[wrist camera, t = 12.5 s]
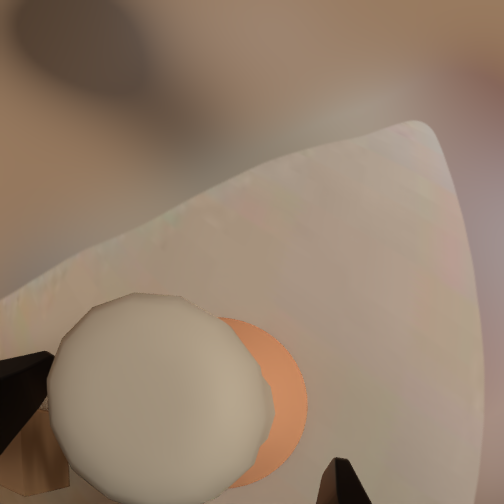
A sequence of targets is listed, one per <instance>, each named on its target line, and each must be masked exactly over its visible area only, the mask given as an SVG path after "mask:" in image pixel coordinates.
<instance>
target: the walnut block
mask: <svg viewBox="0 0 504 504" xmlns="http://www.w3.org/2000/svg"><path fill="white" fill-rule="evenodd" d="M0 485H1V486H3V487H5V488H7V489H9V490H11V491H13V492H16V493H18V494H20V495H22V496H25V497H26V496H31V495H35V494H40V493H44V492H49V491H53V490H57V489H61V488H65V487H68V486H70V481H69V466H68V461H67V459H66V457H65V455H64V453H63V451H62V450H61V448H60V446H59V444H58V441H57V439H56V437H55V435H54V433H53V431H52V429H51V427H50V421H49V411H46V410H41V409H38V410H37V411H36V412H35V414H34V415H33V416H32V417H31V419H30V420H29V421H28V422H27V423H26V425H25V426H24V427H23V428H22V429H21V431H20V432H19V433H18V434H17V436H16V437H15V438H14V439H13V441H12V442H11V443H10V444H9V446H8V447H7V448H6V449H5V451H4V452H3V453H2V454H1V456H0Z"/></svg>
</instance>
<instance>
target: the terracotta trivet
mask: <svg viewBox="0 0 504 504" xmlns="http://www.w3.org/2000/svg"><path fill="white" fill-rule="evenodd" d="M219 319H220V320H222V321H224V322H225V323H227V324H228V325H229V326H231V328H232V329H233V330H234V332H235V333H236V334H237V336H238V337H239V339H240V340H241V341H242V343H243V344H244V345H245V347H246V348H247V349H248V351H249V352H250V353H251V355H252V356H253V357H254V359H255V360H256V361H257V363H258V364H259V365H260V367H261V372H262V376H263V377H264V379H265V380H266V381H267V383H268V384H269V385H270V387H271V392H272V397H273V403H274V408H275V416H274V420H273V423H272V426H271V429H270V433H269V436H268V439H267V440H266V441H265V442H264V443H263V444H262V445H261V446H260V448H259V451H258V454H257V457H256V461H255V464H254V465H253V466H252V467H251V468H250V469H249V470H247V471H246V472H245V473H244V474H243V475H242V476H241V477H240V478H239V479H238V480H237V481H235V482H234V483H233V484H232V485H231V486H230V487H229V488H235V487H240V486H245V485H248V484H250V483H253V482H256V481H258V480H260V479H262V478H264V477H266V476H268V475H269V474H270V473H272V472H273V471H275V470H276V469H277V468H278V467H279V466H281V465H282V464H283V463H284V462H285V461H286V460H287V458H288V457H289V456H290V455H291V453H292V452H293V451H294V449H295V447H296V446H297V444H298V442H299V440H300V438H301V435H302V433H303V430H304V426H305V422H306V417H307V393H306V388H305V383H304V380H303V377H302V374H301V372H300V370H299V368H298V366H297V364H296V362H295V361H294V359H293V358H292V356H291V355H290V353H289V352H288V351H287V350H286V349H285V348H284V346H283V345H282V344H281V343H279V342H278V341H277V340H276V339H275V338H274V337H272V336H271V335H269V334H268V333H267V332H265V331H263V330H262V329H260V328H258V327H256V326H254V325H251V324H249V323H246V322H243V321H239V320H235V319H229V318H219Z"/></svg>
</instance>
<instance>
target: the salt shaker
mask: <svg viewBox="0 0 504 504" xmlns="http://www.w3.org/2000/svg"><path fill="white" fill-rule="evenodd" d="M47 396H48V410H49V421H50V427H51V429H52V431H53V433H54V435H55V437H56V439H57V441H58V444H59V446H60V448H61V450H62V451H63V453H64V455H65V457H66V459H67V461H68V463H69V465H70V467H71V468H72V469H73V470H74V471H75V472H76V473H77V474H78V475H80V476H81V477H82V478H83V479H84V480H86V481H87V482H88V483H89V484H91V485H92V486H93V487H94V488H96V489H97V490H98V491H99V492H101V493H102V494H103V495H105V496H106V497H107V498H109V499H110V500H112V501H116V502H119V503H122V504H202V503H205V502H209V501H211V500H213V499H215V498H217V497H218V496H220V495H221V494H222V493H223V492H224V491H225V490H226V489H228V488H229V487H230V486H231V485H232V484H233V483H234V482H235V481H237V480H238V479H239V478H240V477H241V476H242V475H243V474H244V473H245V472H246V471H247V470H249V469H250V468H251V467H252V466H253V465H254V464H255V461H256V457H257V454H258V451H259V448H260V446H261V445H262V444H263V443H264V442H265V441H266V440H267V439H268V436H269V433H270V429H271V426H272V423H273V420H274V416H275V408H274V403H273V397H272V392H271V387H270V385H269V384H268V383H267V381H266V380H265V379H264V377H263V376H262V372H261V367H260V365H259V364H258V363H257V361H256V360H255V359H254V357H253V356H252V355H251V353H250V352H249V351H248V349H247V348H246V347H245V345H244V344H243V343H242V341H241V340H240V339H239V337H238V336H237V334H236V333H235V332H234V330H233V329H232V328H231V326H229V325H228V324H227V323H225V322H224V321H222V320H220V319H219V318H217V317H215V316H213V315H212V314H210V313H208V312H207V311H205V310H203V309H201V308H200V307H198V306H196V305H195V304H193V303H191V302H190V301H188V300H186V299H185V298H183V297H181V296H171V295H157V294H145V293H132V294H129V295H126V296H123V297H121V298H118V299H115V300H112V301H109V302H106V303H103V304H101V305H98V306H95V307H92V308H91V309H90V310H89V311H88V312H87V314H86V315H85V316H84V317H83V318H82V319H81V320H80V321H79V322H78V323H77V324H76V325H75V326H74V327H73V328H72V329H71V330H70V331H69V332H68V333H67V334H66V335H65V336H64V337H63V338H62V340H61V343H60V345H59V348H58V350H57V353H56V356H55V358H54V361H53V364H52V366H51V369H50V372H49V374H48V377H47Z"/></svg>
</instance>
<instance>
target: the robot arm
mask: <svg viewBox="0 0 504 504" xmlns="http://www.w3.org/2000/svg"><path fill="white" fill-rule="evenodd" d="M54 358H55V356H54V355H52V354H51V353H49V352H47V351H42V352H37V353H33V354H28V355H24V356H19V357H14V358H10V359H5V360H0V456H1V454H2V453H3V452H4V451H5V449H6V448H7V447H8V446H9V444H10V443H11V442H12V441H13V439H14V438H15V437H16V436H17V434H18V433H19V432H20V431H21V429H22V428H23V427H24V426H25V425H26V423H27V422H28V421H29V420H30V419H31V417H32V416H33V415H34V414H35V412H36V411H37V410H38V408H39V407H40V406H41V404H42V402H43V401H44V399H45V398H46V396H47V377H48V374H49V372H50V369H51V366H52V364H53V361H54ZM316 504H372V503H371V501H370V499H369V497H368V495H367V494H366V492H365V490H364V488H363V486H362V484H361V482H360V480H359V478H358V477H357V475H356V473H355V471H354V469H353V467H352V465H351V463H350V462H349V460H348V459H344V458H338V457H335V458H333V460H332V461H331V462H330V464H329V465H328V467H327V468H326V470H325V471H324V473H323V476H322V479H321V484H320V488H319V493H318V497H317V502H316Z"/></svg>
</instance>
